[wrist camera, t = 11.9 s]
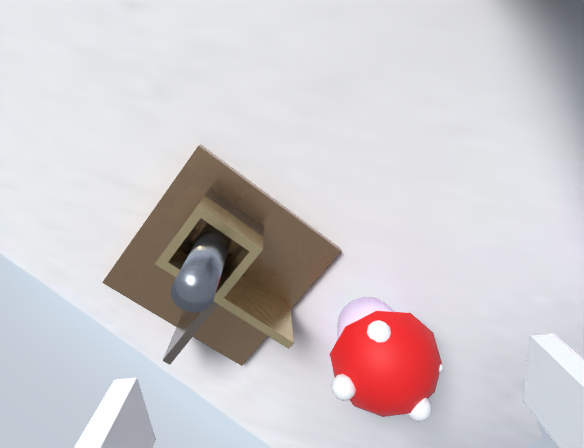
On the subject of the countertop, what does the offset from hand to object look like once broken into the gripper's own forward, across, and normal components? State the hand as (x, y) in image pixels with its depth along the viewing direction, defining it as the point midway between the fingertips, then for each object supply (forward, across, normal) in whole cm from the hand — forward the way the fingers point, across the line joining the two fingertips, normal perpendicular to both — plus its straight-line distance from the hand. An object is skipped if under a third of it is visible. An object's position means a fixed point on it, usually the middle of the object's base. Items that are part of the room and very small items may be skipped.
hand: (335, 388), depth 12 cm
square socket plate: (+27, -9, -7) cm, 29 cm away
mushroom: (+27, +6, -16) cm, 32 cm away
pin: (+26, -9, -3) cm, 27 cm away
